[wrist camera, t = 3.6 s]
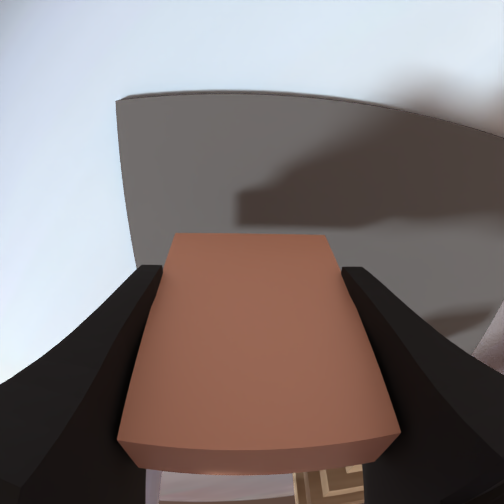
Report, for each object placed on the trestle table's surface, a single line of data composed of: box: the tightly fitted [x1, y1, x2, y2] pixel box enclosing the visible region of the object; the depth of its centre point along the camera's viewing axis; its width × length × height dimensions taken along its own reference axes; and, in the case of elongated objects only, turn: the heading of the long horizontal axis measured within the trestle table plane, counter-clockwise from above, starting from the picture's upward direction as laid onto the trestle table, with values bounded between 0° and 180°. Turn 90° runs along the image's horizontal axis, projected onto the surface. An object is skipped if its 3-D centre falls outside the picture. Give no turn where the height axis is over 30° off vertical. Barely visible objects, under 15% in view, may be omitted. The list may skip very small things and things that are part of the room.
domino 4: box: [320, 467, 364, 497], centre depth 17 cm, size 2×5×7 cm, turn 88°
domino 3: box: [303, 471, 364, 504], centre depth 20 cm, size 2×5×7 cm, turn 88°
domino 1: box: [117, 233, 401, 475], centre depth 8 cm, size 2×5×7 cm, turn 88°
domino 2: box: [293, 472, 307, 504], centre depth 22 cm, size 2×5×7 cm, turn 88°
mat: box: [116, 94, 504, 355], centre depth 19 cm, size 22×32×1 cm
